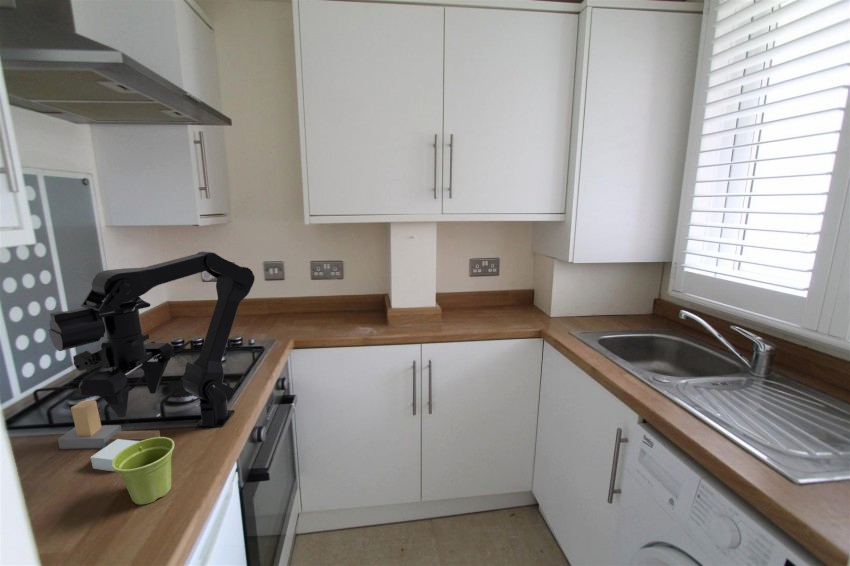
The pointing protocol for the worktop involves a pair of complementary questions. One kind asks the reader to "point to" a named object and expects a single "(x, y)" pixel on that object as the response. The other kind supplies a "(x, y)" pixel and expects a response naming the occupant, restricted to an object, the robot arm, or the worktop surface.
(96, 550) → the worktop surface
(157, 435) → the stop bar
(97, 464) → the tile
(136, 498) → the plant pot
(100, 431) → the tan block grey base
